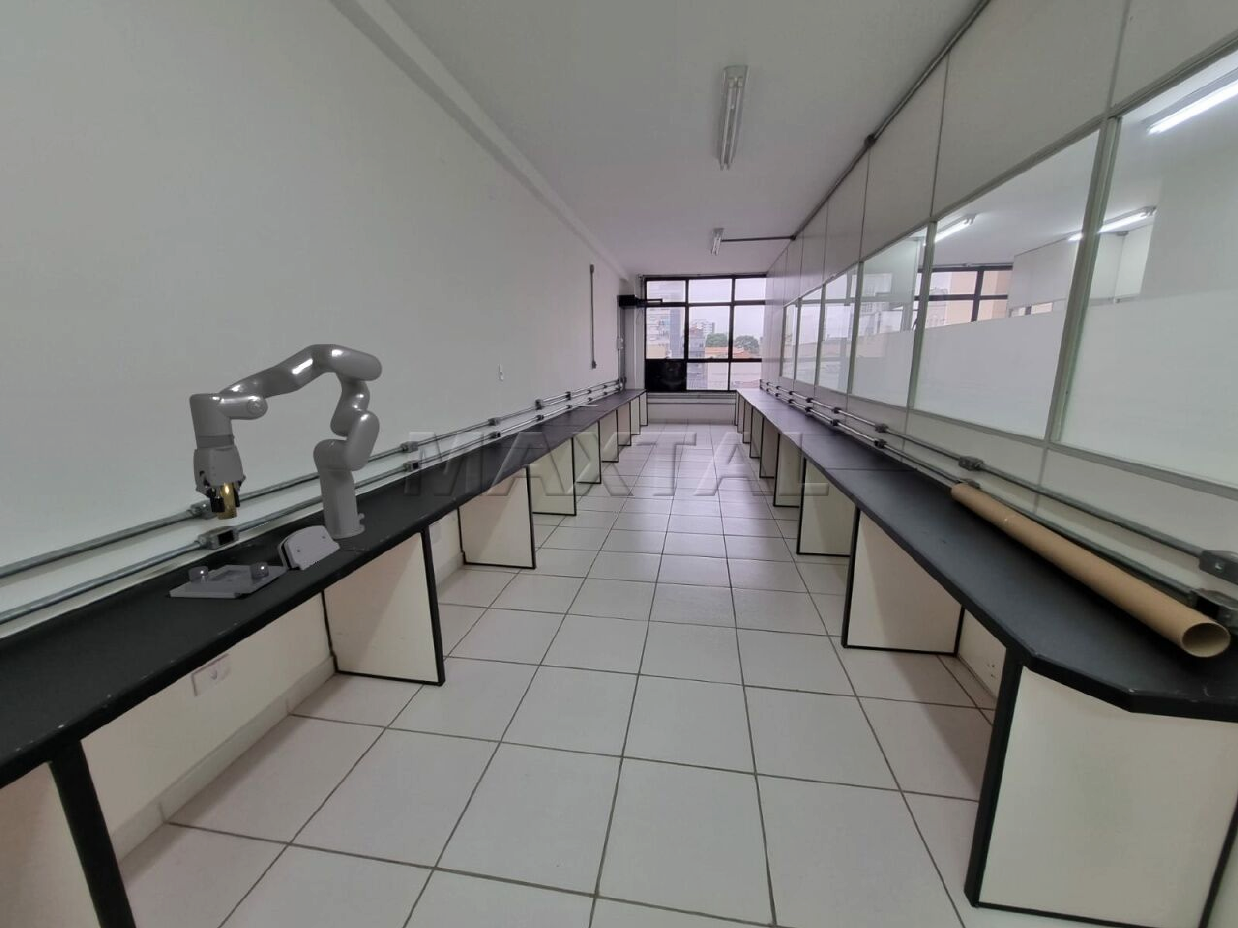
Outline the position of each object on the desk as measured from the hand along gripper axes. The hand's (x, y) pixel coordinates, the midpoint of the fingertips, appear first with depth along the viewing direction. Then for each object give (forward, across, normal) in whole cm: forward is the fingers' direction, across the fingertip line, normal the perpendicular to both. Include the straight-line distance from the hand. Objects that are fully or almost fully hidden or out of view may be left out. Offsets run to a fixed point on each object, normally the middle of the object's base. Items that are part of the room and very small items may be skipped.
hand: (226, 509), depth 126 cm
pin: (+2, 0, 0) cm, 2 cm away
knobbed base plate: (+18, +9, +7) cm, 21 cm away
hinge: (+18, -10, +14) cm, 25 cm away
